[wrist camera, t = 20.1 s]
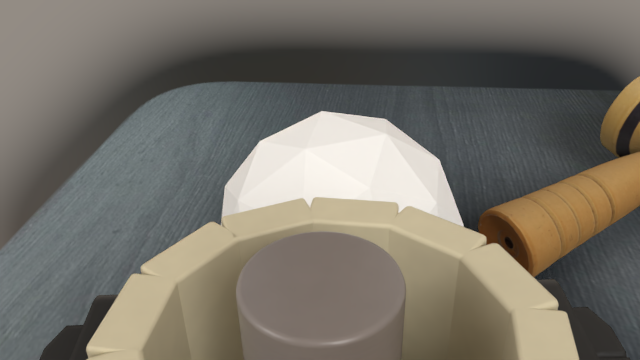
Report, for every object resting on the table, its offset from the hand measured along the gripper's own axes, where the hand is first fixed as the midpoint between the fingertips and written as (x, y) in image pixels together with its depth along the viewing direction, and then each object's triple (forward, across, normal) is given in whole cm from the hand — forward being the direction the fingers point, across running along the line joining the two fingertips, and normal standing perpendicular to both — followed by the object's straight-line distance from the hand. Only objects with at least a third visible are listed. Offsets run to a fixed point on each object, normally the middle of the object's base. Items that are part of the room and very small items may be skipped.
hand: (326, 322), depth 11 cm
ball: (+8, -1, +8) cm, 11 cm away
